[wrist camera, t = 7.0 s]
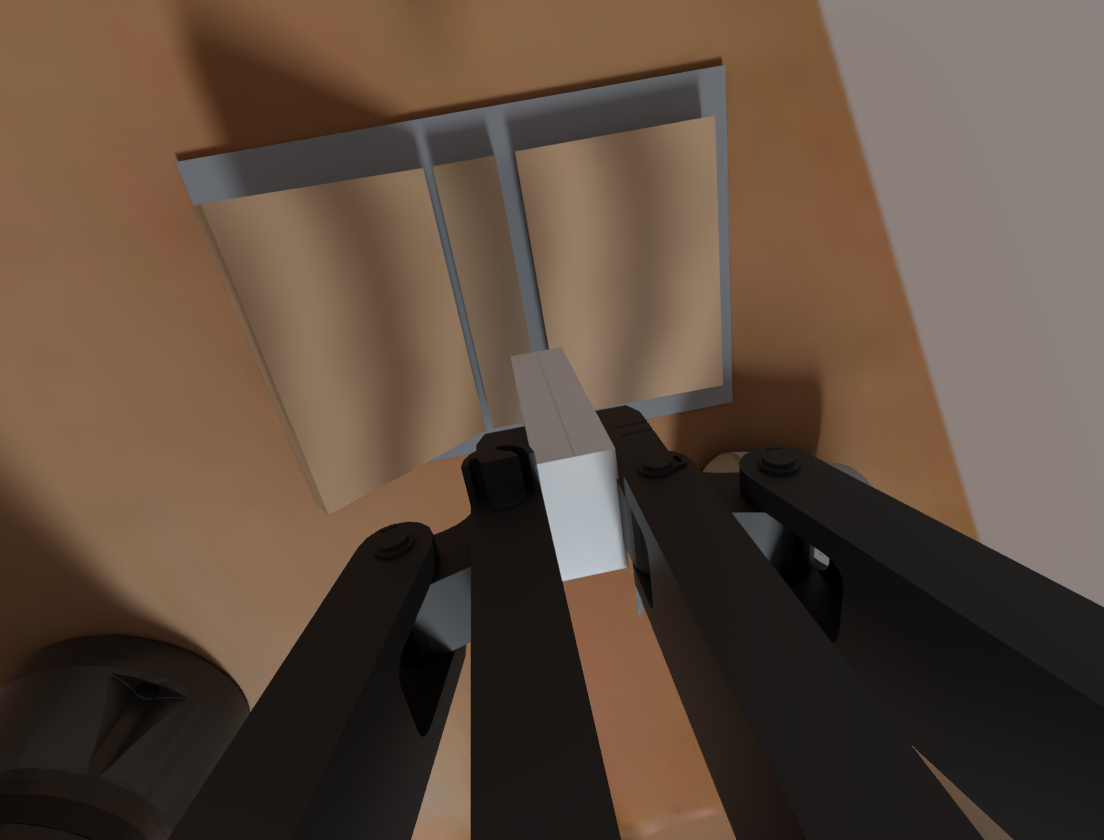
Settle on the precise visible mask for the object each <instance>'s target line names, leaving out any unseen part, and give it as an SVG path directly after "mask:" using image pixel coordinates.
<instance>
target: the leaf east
mask: <svg viewBox="0 0 1104 840" xmlns="http://www.w3.org/2000/svg"><path fill="white" fill-rule="evenodd" d="M514 154H515V160H516V166H517V172H518V177H519V183H520V189H521V195H522V200H523V206H524V212H525V218H526V224H527V229H528V235H529V241H530V247H531V253H532V258H533V264H534V270H535V276H536V281H537V287H538V293H539V299H540V305H541V310H542V316H543V322H544V328H545V333H546V339H547V345H548V349H554V348H559V347H562V349H563V351H564V353H565V355H566V357H567V359H568V360H569V362H570V364H571V366H572V368H573V370H574V372H575V374H576V376H577V377H578V379H579V381H580V383H581V385H582V387H583V389H584V391H585V393H586V394H587V396H588V398H589V400H590V402H591V404H592V406H593V408H594V409H598V408H603V407H609V406H614V405H619V404H625V403H630V402H636V401H641V400H646V399H652V398H657V397H662V396H668V395H673V394H679V393H684V392H689V391H695V390H700V389H705V388H711V387H716V386H722V385H723V366H722V332H721V298H720V264H719V230H718V195H717V161H716V127H715V116H710V117H704V118H699V119H693V120H687V121H682V122H676V123H671V124H665V125H660V126H654V127H649V128H643V129H638V130H632V131H626V132H621V133H615V134H610V135H604V136H599V137H593V138H588V139H582V140H576V141H571V142H565V143H560V144H554V145H549V146H543V147H538V148H532V149H527V150H521V151H515V152H514Z"/></svg>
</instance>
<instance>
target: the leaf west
mask: <svg viewBox="0 0 1104 840" xmlns="http://www.w3.org/2000/svg"><path fill="white" fill-rule="evenodd" d="M191 207H192V209H193V212H194V214H195V216H196V219H197V221H198V224H199V226H200V228H201V231H202V233H203V235H204V238H205V240H206V243H207V245H208V247H209V250H210V252H211V255H212V257H213V259H214V262H215V264H216V267H217V269H218V271H219V274H220V276H221V278H222V281H223V283H224V286H225V288H226V290H227V293H228V295H229V298H230V300H231V302H232V305H233V307H234V309H235V312H236V314H237V317H238V319H239V321H240V324H241V326H242V329H243V331H244V333H245V336H246V338H247V341H248V343H249V345H250V348H251V350H252V352H253V355H254V357H255V360H256V362H257V364H258V367H259V369H260V372H261V374H262V376H263V379H264V381H265V384H266V386H267V388H268V391H269V393H270V395H271V398H272V400H273V403H274V405H275V407H276V410H277V412H278V415H279V417H280V419H281V422H282V424H283V426H284V429H285V431H286V434H287V436H288V438H289V441H290V443H291V446H292V448H293V450H294V453H295V455H296V458H297V460H298V462H299V465H300V467H301V469H302V472H303V474H304V477H305V479H306V481H307V484H308V486H309V489H310V491H311V493H312V496H313V498H314V500H315V503H316V505H317V506H318V507H320V508H321V509H322V510H323V511H325V512H326V513H327V514H328V515H329V514H331V513H333V512H335V511H337V510H338V509H340V508H342V507H344V506H346V505H348V504H350V503H352V502H353V501H355V500H357V499H359V498H361V497H363V496H365V495H366V494H368V493H370V492H372V491H374V490H376V489H378V488H379V487H381V486H383V485H385V484H387V483H389V482H391V481H393V480H394V479H396V478H398V477H400V476H402V475H404V474H406V473H407V472H409V471H411V470H413V469H415V468H417V467H419V466H420V465H422V464H424V463H426V462H428V461H430V460H432V459H434V458H435V457H437V456H439V455H441V454H443V453H445V452H447V451H448V450H450V449H452V448H454V447H456V446H458V445H460V444H461V443H463V442H465V441H467V440H469V439H471V438H473V437H475V436H476V435H478V434H480V433H482V432H484V431H486V427H485V423H484V419H483V415H482V411H481V407H480V402H479V398H478V394H477V390H476V386H475V382H474V377H473V373H472V369H471V365H470V361H469V357H468V352H467V348H466V344H465V340H464V336H463V332H462V328H461V323H460V319H459V315H458V311H457V307H456V303H455V298H454V294H453V290H452V286H451V282H450V278H449V273H448V269H447V265H446V261H445V257H444V253H443V249H442V244H441V240H440V236H439V232H438V228H437V224H436V219H435V215H434V211H433V207H432V203H431V199H430V194H429V190H428V186H427V182H426V178H425V174H424V170H423V168H420V169H414V170H408V171H402V172H396V173H389V174H383V175H377V176H371V177H364V178H358V179H352V180H346V181H340V182H333V183H327V184H321V185H315V186H309V187H302V188H296V189H290V190H284V191H277V192H271V193H265V194H259V195H253V196H246V197H240V198H234V199H228V200H222V201H215V202H209V203H203V204H198V205H195V206H191Z"/></svg>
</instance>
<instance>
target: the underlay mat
mask: <svg viewBox="0 0 1104 840" xmlns="http://www.w3.org/2000/svg"><path fill="white" fill-rule="evenodd" d="M710 116H715V127H716V161H717V195H718V230H719V264H720V298H721V332H722V366H723V385H722V386H716V387H711V388H705V389H700V390H695V391H689V392H684V393H679V394H673V395H668V396H662V397H657V398H652V399H646V400H641V401H636V402H630V403H625V404H619V405H614V406H609V407H603V408H598V409H594V410H595V411H597V410H602V409H607V408H613V407H618V406H623V405H627V406H629V407H631V408H634V409H636V410H638V411H640V412H641V414H642V415H643V416H644V418H645V419H650V418H655V417H660V416H665V415H670V414H675V413H680V412H685V411H690V410H695V409H701V408H706V407H711V406H716V405H721V404H726V403H731V402H733V397H732V350H731V303H730V257H729V210H728V164H727V117H726V70H725V65H722V66H716V67H710V68H705V69H699V70H693V71H688V72H682V73H676V74H671V75H665V76H659V77H654V78H648V79H642V80H637V81H631V82H625V83H620V84H614V85H608V86H603V87H597V88H591V89H586V90H580V91H575V92H569V93H563V94H558V95H552V96H546V97H541V98H535V99H529V100H524V101H518V102H512V103H507V104H501V105H495V106H490V107H484V108H478V109H473V110H467V111H461V112H456V113H450V114H444V115H439V116H433V117H427V118H422V119H416V120H410V121H405V122H399V123H393V124H388V125H382V126H376V127H371V128H365V129H359V130H354V131H348V132H342V133H337V134H331V135H325V136H320V137H314V138H309V139H303V140H297V141H292V142H286V143H280V144H275V145H269V146H263V147H258V148H252V149H246V150H241V151H235V152H229V153H224V154H218V155H212V156H207V157H201V158H195V159H190V160H184V161H178V162H176V165H177V167H178V169H179V172H180V174H181V177H182V179H183V181H184V184H185V186H186V189H187V191H188V193H189V196H190V198H191V201H192V203H193V205H194V206H195V205H198V204H203V203H209V202H215V201H222V200H228V199H234V198H240V197H246V196H253V195H259V194H265V193H271V192H277V191H284V190H290V189H296V188H302V187H309V186H315V185H321V184H327V183H333V182H340V181H346V180H352V179H358V178H364V177H371V176H377V175H383V174H389V173H396V172H402V171H408V170H414V169H420V168H423V170H424V174H425V178H426V182H427V186H428V190H429V194H430V199H431V203H432V207H433V211H434V215H435V219H436V224H437V228H438V232H439V236H440V240H441V244H442V249H443V253H444V257H445V261H446V265H447V269H448V273H449V278H450V282H451V286H452V290H453V294H454V298H455V303H456V307H457V311H458V315H459V319H460V323H461V328H462V332H463V336H464V340H465V344H466V348H467V352H468V357H469V361H470V365H471V369H472V373H473V377H474V382H475V386H476V390H477V394H478V398H479V402H480V407H481V411H482V415H483V419H484V423H485V427H486V431H484V432H482V433H480V434H478V435H476V436H475V437H473V438H471V439H469V440H467V441H465V442H463V443H461V444H460V445H458V446H456V447H454V448H452V449H450V450H448V451H447V452H445V453H443V454H441V455H439V456H437V457H435V458H434V459H432V460H430V461H428V462H431V461H437V460H442V459H447V458H452V457H457V456H462V455H467V454H471V453H473V452H475V451H476V445H477V443H478V442H479V441H480V439H481V438H482V437H483V435H484V434H487V433H492V432H497V431H502V430H507V429H512V428H517V427H523V426H524V424H523V423H519V424H514V425H509V426H504V427H499V428H493V424H492V420H491V415H490V411H489V407H488V402H487V398H486V394H485V390H484V385H483V381H482V377H481V372H480V368H479V364H478V360H477V355H476V351H475V347H474V342H473V338H472V334H471V330H470V325H469V321H468V317H467V313H466V308H465V304H464V300H463V295H462V291H461V287H460V283H459V278H458V274H457V270H456V265H455V261H454V257H453V253H452V248H451V244H450V240H449V235H448V231H447V227H446V223H445V218H444V214H443V210H442V205H441V201H440V197H439V193H438V188H437V184H436V180H435V176H434V171H433V167H432V166H437V165H443V164H449V163H454V162H460V161H465V160H471V159H476V158H482V157H488V156H493V155H495V157H496V162H497V167H498V173H499V178H500V183H501V189H502V194H503V199H504V205H505V210H506V215H507V221H508V226H509V231H510V237H511V242H512V248H513V253H514V258H515V264H516V269H517V274H518V280H519V285H520V290H521V296H522V301H523V306H524V312H525V317H526V322H527V328H528V333H529V339H530V344H531V349H532V352H538V351H543V350H548V345H547V339H546V333H545V328H544V322H543V316H542V310H541V305H540V299H539V293H538V287H537V281H536V276H535V270H534V264H533V258H532V253H531V247H530V241H529V235H528V229H527V224H526V218H525V212H524V206H523V200H522V195H521V189H520V183H519V177H518V172H517V166H516V160H515V154H514V152H515V151H521V150H527V149H532V148H538V147H543V146H549V145H554V144H560V143H565V142H571V141H576V140H582V139H588V138H593V137H599V136H604V135H610V134H615V133H621V132H626V131H632V130H638V129H643V128H649V127H654V126H660V125H665V124H671V123H676V122H682V121H687V120H693V119H699V118H704V117H710Z"/></svg>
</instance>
